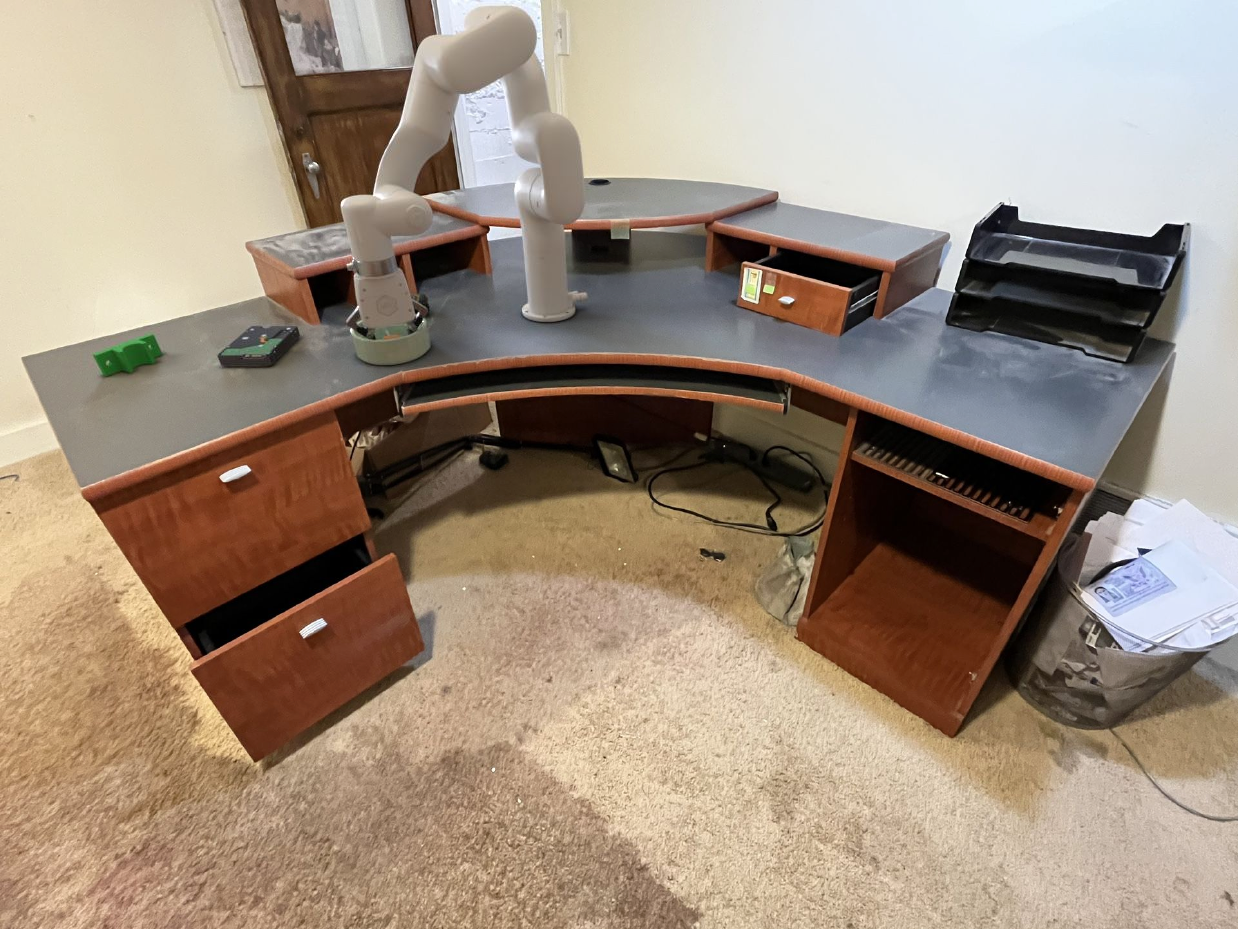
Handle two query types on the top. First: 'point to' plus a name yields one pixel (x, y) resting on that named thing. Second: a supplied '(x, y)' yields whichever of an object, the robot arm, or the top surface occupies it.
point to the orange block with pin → (390, 336)
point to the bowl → (392, 344)
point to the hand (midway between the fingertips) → (395, 350)
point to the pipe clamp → (128, 355)
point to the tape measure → (420, 301)
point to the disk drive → (259, 346)
